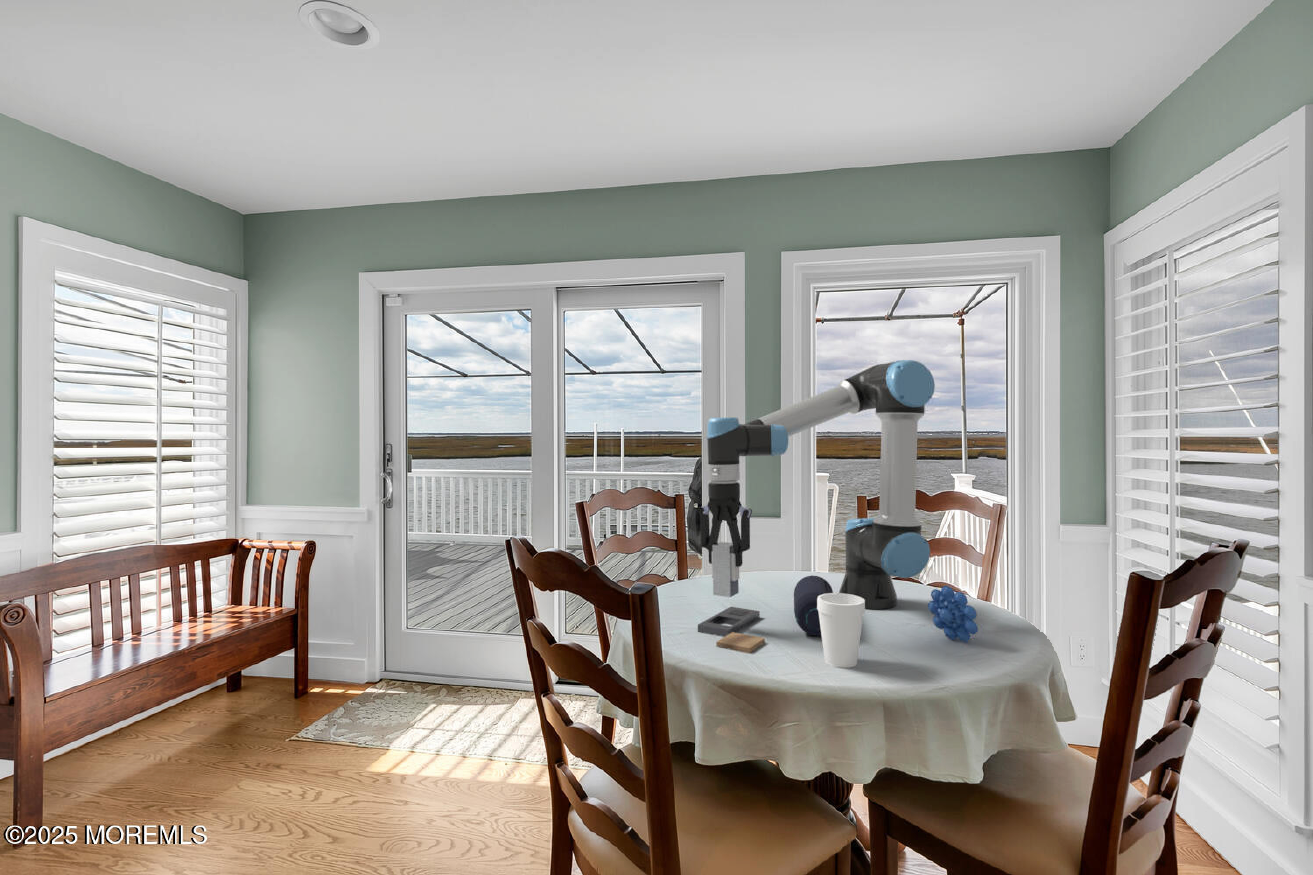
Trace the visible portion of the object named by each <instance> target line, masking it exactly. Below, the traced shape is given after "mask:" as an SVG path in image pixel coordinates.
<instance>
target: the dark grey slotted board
mask: <svg viewBox="0 0 1313 875" xmlns="http://www.w3.org/2000/svg"><path fill="white" fill-rule="evenodd" d="M760 615H761V614H760V610H754V609H747V608H742V607H736V606H730V607H728V608H725V609H724V610H722V611H720V612H719V613H716V614H714V615H713V616H711V617H709V618H708V619H705V620H704V621H701V622H700V623H698V624H697V632H698V633H703V632H706V633H705V634H709V633H711V634H710V635H714V634H716V635H715V636H719V635H722V636H721V637H725V636H727V635H728V634H730V633H732V632H736V633H738V632H739V631H740V629H741V630H743V629H744V628H746V627H747V626H748V625H750V624H751V623H754V622H755V621H757V620H758V619H759V618H760V617H761V616H760ZM719 623H721V624H719ZM725 624H726V625H725ZM727 624H729V625H727ZM743 627H744V628H743Z"/></svg>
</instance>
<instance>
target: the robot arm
mask: <svg viewBox="0 0 1313 875" xmlns="http://www.w3.org/2000/svg"><path fill="white" fill-rule="evenodd" d="M935 388H936V386H935V380H934V376H933V374H932V373H931V370H929V369H928V367H927V366H926V365H925V364H924V363H921V362H919V361H917V360H911V359H909V360H908V359H905V360H904V359H903V360H896V361H892V362H891V361H890V362H888V363H881V364H876V365H872V366H871V367H868V368H866V369H864V370H862V371H860V372H858V373H856V374H853V375H852V376H850V377H848V378H845V379H842V380H841V381H840V382H838V385H837V386H836V387H833V388H831V389H828V390H826V391H823V392H821V393H819V394H818V393H817V394H815V395H813V396H811V397H808V398H806V399H803V400H801V401H799V402H796V403H794V404H791V405H788V406H785V407H784V408H781V409H778V410H776V411H773V412H771V413H768V414H767V415H764V416H761V417H759V418H756V419H754V420H751V421H749V422H746V423H744V424H740V423H739V422H740V421H739V418H738V417H711V418H710V419H709V420H708V421H707V430H706V431H707V433H706V434H707V435H706V439H707V463H708V464H707V477H708V481H709V483H708V484H707V486H708V489H707V490H708V502H707V505H704V506H699V507H698V508H697V512H698V514H699V522H700V523H699V524H700V525H699V528H700V546H701V548H705V549H706V550H707V551H708V563H709V564H711V579H713V546H712V545H714V544H717V543H719V537H720V536H719V535H720V530H721V527H722V526H721V525H722V523H723V521H725V522H726V525H727V527H728V530H729V533H730V534H729V535H730V538H731V543H732V544H733V548H734V552H733V553H731V564H732V581H736V580H738V581H739V580H740V568H741V567H742V566H743V553H744V552H746V551H749V550H750V549H751V516H752V513H753V510H752V509H751V508H746V507H744V506H743V505H742V503H741V501H740V500H741V483H740V482H739V480H740V479H741V476H740V474H741V473H740V457H763V456H764V457H767V456H769V457H773V456H782V455H784V454H785V453H786V452H787V450H788V448H789V437H792V436H794V435H796V434H799V433H801V432H804V431H806V430H808V429H811V428H813V427H816V426H818V425H821V424H824V423H826V422H828V421H831V420H833V419H836V418H838V417H840V416H843V415H846V414H847V413H849V414H852V415H854V414H858V413H860V412H863V411H867V410H872V409H875V415H876V416H877V417H878V418H879V419H880V421H881V428H880V430H881V436H880V437H881V438H880V440H881V441H880V465H879V466H880V467H879V468H880V469H879V471H880V472H879V473H880V474H879V475H880V477H879V506H878V507H879V508H878V510H879V511H878V515H877V516H875V517H873V518H865V517H864V518H850V519H848V520H847V521H846V524H845V531H844V533H845V574H844V576H843V580H842V581H841V586H840V587H839V588H840V589H839V591H838V592H839V593H844V594H851V595H855V596H859V597H861V598H863V599H864V600H865V609H871V610H880V609H881V610H883V609H891V608H894V607H896V606H897V605H898V594H897V592H896V590H895V586H894V583H893V580H892V577H898V578H902V579H909V578H913V577H916V576H917V575H919V574H920V573H921V572H922V571H923V570H925V568H926V567H927V565H928V563H929V561H930V555H931V548H930V545H929V542H928V541H927V540H926V538H925V537H924V536H923V535H922V523H921V521H920V520H919V519H918V518H917V517H916V501H917V500H916V499H917V498H916V496H917V491H916V490H917V464H918V463H917V458H918V457H917V455H918V453H917V452H918V450H917V449H918V426H919V424H918V422H919V420H921V419H922V418H923V417H924V416H925V409H926V408H925V407H926V406H925V405H926V404H927V403H929V401H930V399H932V397H933V395H934V393H935ZM710 513H711V514H712V518H711V528H710ZM738 514H739V516H740V518H741V519H740V529H739V526H738V522H739V521H738ZM891 576H892V577H891Z"/></svg>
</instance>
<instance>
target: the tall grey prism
mask: <svg viewBox="0 0 1313 875" xmlns="http://www.w3.org/2000/svg"><path fill="white" fill-rule="evenodd" d="M712 546H713V578H712V584H713V585H712V589H713V590H712V591H713V593H712V594H713V596H718V597H719V596H720V597H726V598H732V597H734V596H735V595H737V594H739V592H740V591H739V579H738V580H736V581H732V564H731V553H733V552H734V548H733V544H732V542H725V541H720V542H719V541H718V542H717V544H714V545H712Z"/></svg>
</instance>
